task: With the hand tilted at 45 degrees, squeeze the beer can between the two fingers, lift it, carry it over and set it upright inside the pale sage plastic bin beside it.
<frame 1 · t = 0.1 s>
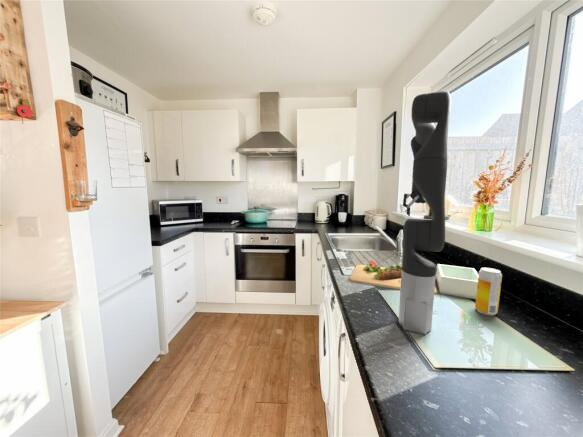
hand: (419, 216, 112), 29 cm above the worktop, tool pointing down, fingers open, 8 cm apart
cutting board: (390, 280, 115), on the worktop
bin: (456, 288, 104), on the worktop
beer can: (485, 312, 84), on the worktop
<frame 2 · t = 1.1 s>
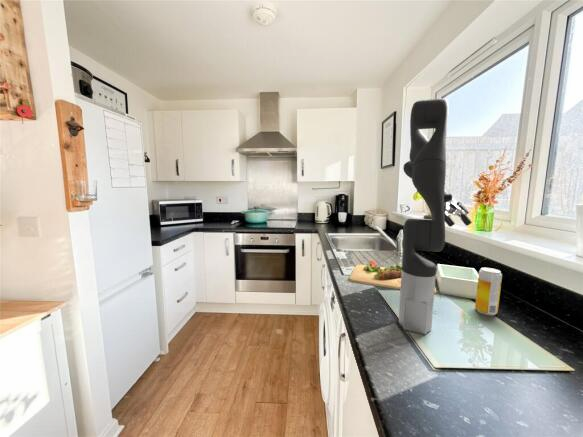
hand: (460, 224, 91), 29 cm above the worktop, tool tilted 45°, fingers open, 8 cm apart
nothing on the worktop moved.
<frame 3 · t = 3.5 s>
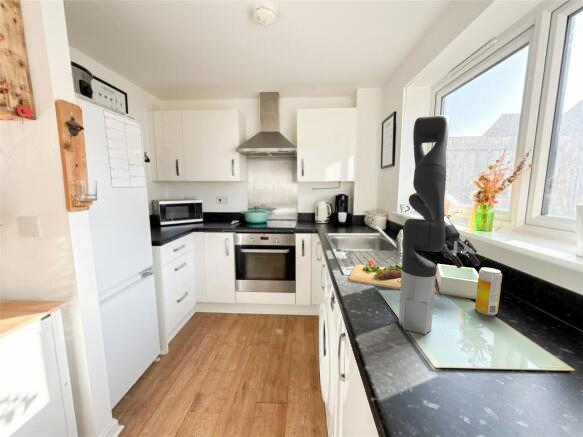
hand: (469, 265, 89), 14 cm above the worktop, tool tilted 45°, fingers open, 8 cm apart
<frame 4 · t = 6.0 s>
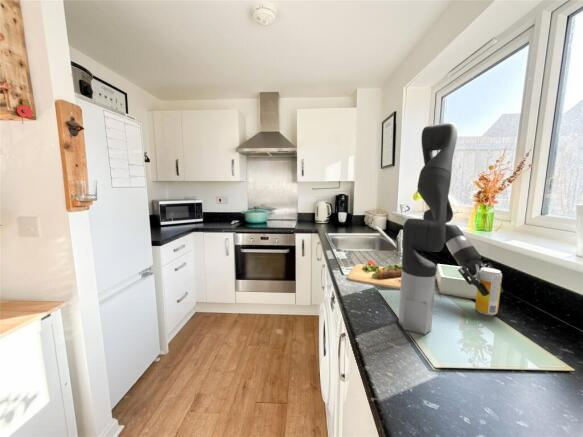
hand: (493, 293, 82), 7 cm above the worktop, tool tilted 45°, fingers closed on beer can, 6 cm apart
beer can: (485, 312, 84), on the worktop, touching gripper
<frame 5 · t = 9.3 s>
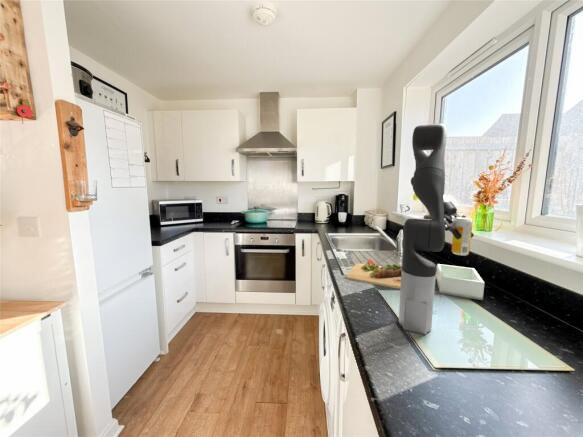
hand: (465, 237, 99), 22 cm above the worktop, tool tilted 45°, fingers closed on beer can, 6 cm apart
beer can: (459, 254, 102), point 15 cm above the worktop, touching gripper
when the fingers open (10 cm above the worktop, at t = 12.6 s): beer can drops 1 cm, resting on bin.
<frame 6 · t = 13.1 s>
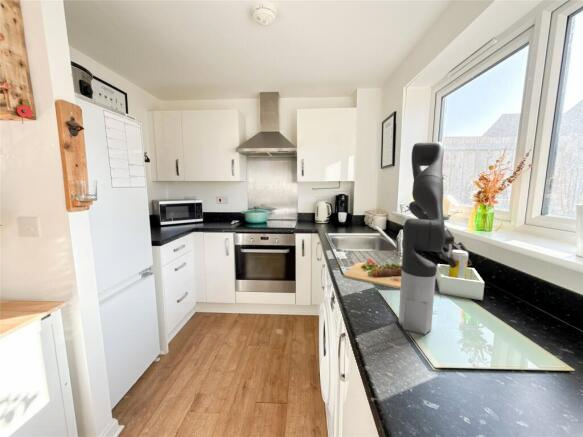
hand: (462, 266, 101), 10 cm above the worktop, tool tilted 45°, fingers open, 8 cm apart
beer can: (456, 286, 104), point 1 cm above the worktop, touching bin
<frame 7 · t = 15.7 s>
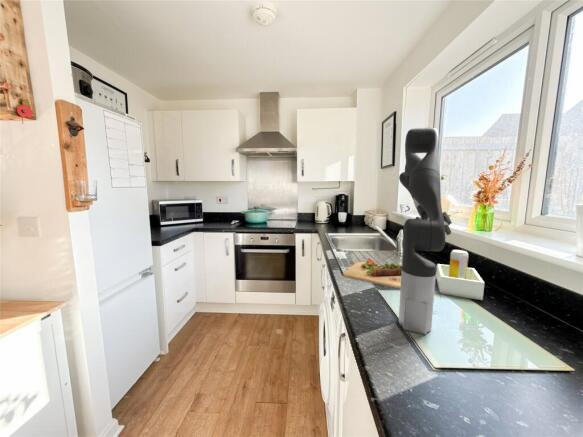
hand: (439, 236, 107), 21 cm above the worktop, tool tilted 35°, fingers open, 8 cm apart
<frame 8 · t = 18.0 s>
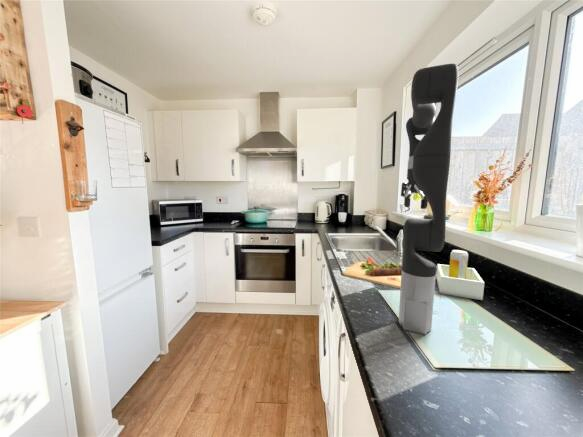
hand: (415, 207, 101), 34 cm above the worktop, tool pointing down, fingers open, 8 cm apart
at the end: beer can inside the target area on the bin (0.3 cm from its centre), point 0.8 cm above the bin's base; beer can tilted 0°; the gripper is holding nothing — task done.
